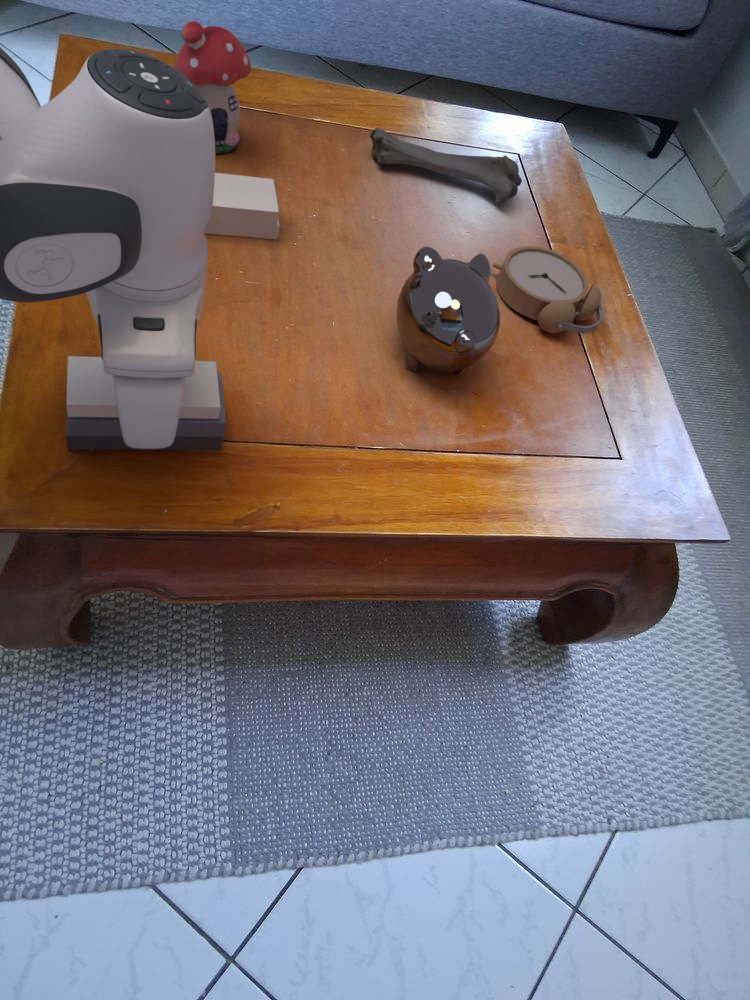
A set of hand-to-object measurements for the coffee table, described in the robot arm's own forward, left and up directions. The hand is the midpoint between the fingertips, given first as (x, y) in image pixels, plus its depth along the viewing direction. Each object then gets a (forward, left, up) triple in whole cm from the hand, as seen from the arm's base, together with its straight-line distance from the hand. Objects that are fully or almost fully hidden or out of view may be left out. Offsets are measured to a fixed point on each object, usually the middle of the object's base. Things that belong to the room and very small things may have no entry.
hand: (144, 392), depth 70 cm
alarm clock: (+50, +20, -5) cm, 54 cm away
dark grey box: (0, 0, -5) cm, 5 cm away
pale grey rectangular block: (0, 0, 0) cm, 0 cm away
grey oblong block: (+9, +31, -5) cm, 33 cm away
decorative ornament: (+9, +46, -5) cm, 47 cm away
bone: (+41, +43, -5) cm, 60 cm away
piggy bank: (+32, +11, -5) cm, 34 cm away
